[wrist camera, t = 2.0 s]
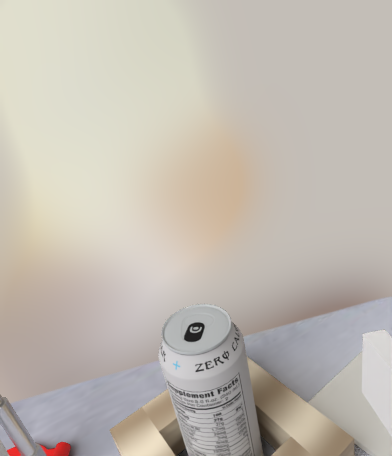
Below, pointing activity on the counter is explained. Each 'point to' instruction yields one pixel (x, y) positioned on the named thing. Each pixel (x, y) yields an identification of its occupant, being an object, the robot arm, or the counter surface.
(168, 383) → the energy drink can
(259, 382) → the socket holder
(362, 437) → the white square plate
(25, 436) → the tow hook
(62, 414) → the counter surface
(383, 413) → the robot arm
